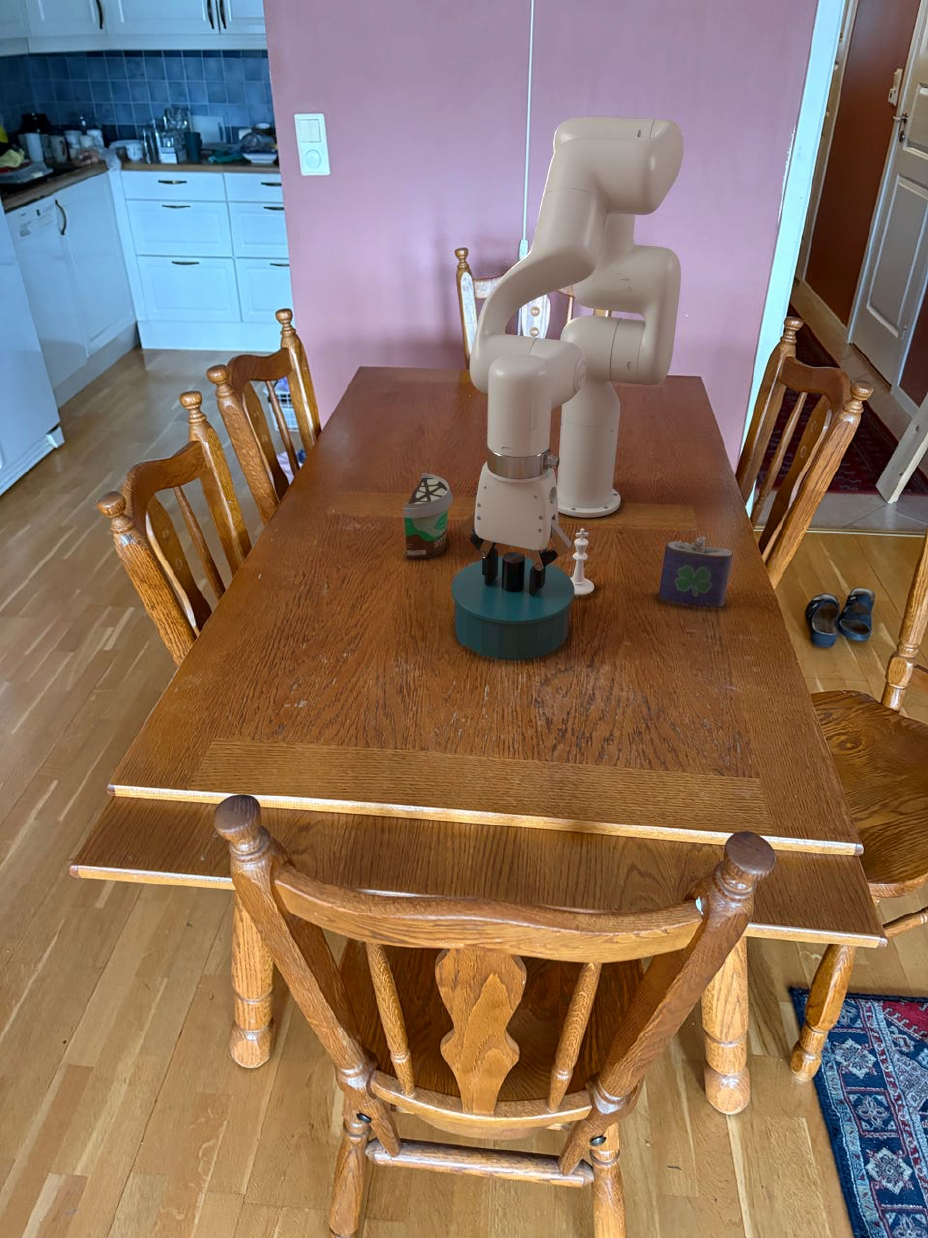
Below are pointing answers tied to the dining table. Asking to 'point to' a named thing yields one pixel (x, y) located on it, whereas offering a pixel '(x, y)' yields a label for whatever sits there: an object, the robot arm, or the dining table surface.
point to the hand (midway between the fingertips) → (513, 584)
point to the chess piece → (581, 566)
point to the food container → (427, 517)
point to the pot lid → (512, 592)
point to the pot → (511, 636)
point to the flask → (695, 573)
